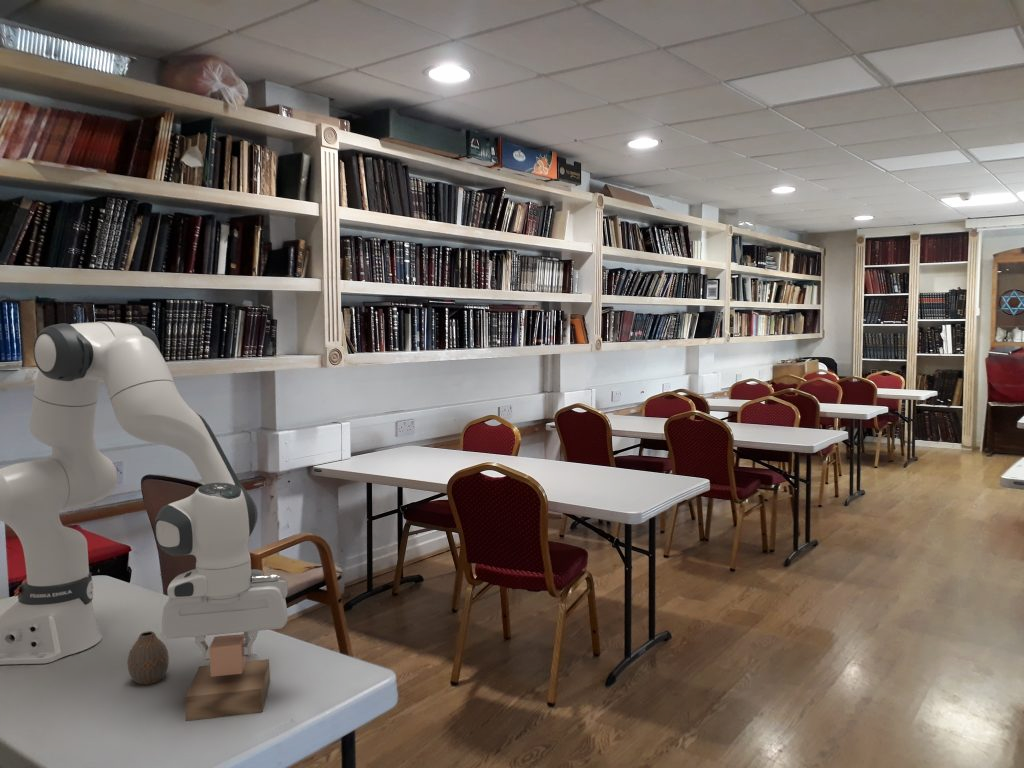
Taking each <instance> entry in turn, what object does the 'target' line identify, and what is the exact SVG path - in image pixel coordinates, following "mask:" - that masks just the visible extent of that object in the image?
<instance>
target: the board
mask: <svg viewBox="0 0 1024 768" xmlns="http://www.w3.org/2000/svg"><path fill="white" fill-rule="evenodd" d="M198 666H199V665H198ZM270 668H271V667H270V659H269V658H267V659H266V658H265V659H259V660H257V661H247V662H245V665H244V668H243V671H242V674H233V675H223V676H214V677H211V671H210V664H208V665H200V666H199V667H198V668H197V671H196V673H195V675H194V677H193V679H192V681H191V684H190V685H189V688H188V689H187V692H186V694H185V696H184V703H185V719H186V720H185V721H187V722H188V721H195V720H205V719H212V718H213V719H214V718H220V717H229V716H239V715H246V714H247V715H248V714H256V713H262V712H264V708H263V707H265V704H266V698H267V695H268V690H269V687H270V686H269V685H270V682H271V675H270V674H271V673H270V671H271V669H270Z"/></svg>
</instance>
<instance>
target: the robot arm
mask: <svg viewBox="0 0 1024 768" xmlns="http://www.w3.org/2000/svg"><path fill="white" fill-rule="evenodd" d="M160 350H161V349H160V342H159V340H158V337H157V336H156V333H155V332H154V331H153V330H152V329H151V328H150V327H148V326H146V325H143V324H139V323H134V322H127V323H124V322H123V323H122V322H115V321H95V322H79V323H71V324H69V323H64V322H62V323H57V324H52V325H48V326H45V327H44V328H42V329H41V330H40V332H39V333H38V334H37V336H36V337H35V340H34V344H33V358H34V362H35V363H34V364H35V365H36V367H37V369H38V372H37V376H36V379H35V384H34V389H33V396H32V403H31V411H30V418H29V425H28V427H29V429H30V432H31V434H32V436H33V437H34V438H35V439H36V440H37V441H38V442H39V443H41V444H43V445H46V446H49V447H51V455H50V457H48V458H44V459H37V460H30V461H25V462H18V463H13V464H11V465H10V464H9V465H8V466H4V467H2V468H0V522H2V523H4V524H5V525H7V526H9V528H10V529H11V530H12V531H13V532H14V533H15V534H16V536H17V537H18V539H19V541H20V544H21V547H22V549H23V550H22V551H23V555H24V556H23V557H24V563H25V564H24V565H25V571H26V572H25V573H26V578H25V579H24V580H22V582H21V584H20V585H18V586H17V588H16V589H15V590H14V591H13V593H14V595H13V596H14V597H17V599H18V601H16V602H15V603H14V604H12V606H11V607H9V608H8V609H7V610H6V611H4V612H3V613H2V614H1V615H0V665H1V666H2V665H29V664H30V665H33V664H35V665H36V664H37V665H38V664H49V663H52V662H55V661H56V660H57V661H58V660H60V659H62V658H64V657H67V656H70V655H73V654H77V653H81V652H83V651H85V650H87V649H90V648H92V647H93V646H95V645H96V644H99V642H100V641H101V640H102V639H103V635H102V633H101V631H100V627H99V626H98V623H97V618H96V616H95V615H96V614H95V610H94V605H93V600H94V599H93V598H94V583H93V577H92V572H90V566H89V553H88V552H89V550H88V549H89V547H88V540H87V538H86V536H85V535H84V534H83V533H82V532H81V531H79V530H78V529H74V528H72V527H68V526H65V525H63V523H62V521H61V518H60V512H61V511H66V510H69V509H74V508H80V507H83V506H88V505H91V504H94V503H96V502H98V501H101V500H103V499H105V498H107V497H109V496H110V495H112V493H114V490H115V488H116V486H117V484H118V483H117V482H118V473H117V469H116V467H115V464H114V463H113V462H112V460H111V459H110V458H109V457H108V456H106V455H105V454H103V453H102V452H101V451H100V450H99V448H98V446H97V444H96V441H95V436H94V435H95V434H94V430H95V428H94V427H95V418H96V410H97V403H98V397H99V396H98V394H99V388H100V382H101V381H104V384H105V387H106V389H107V393H108V396H109V399H110V403H111V406H112V410H113V413H114V416H115V417H116V420H117V422H118V423H119V425H120V426H121V428H122V429H123V430H124V431H125V432H126V433H128V435H130V436H132V437H134V438H136V439H139V440H140V441H144V442H147V443H154V444H159V445H162V446H167V447H171V448H173V449H175V450H178V451H180V452H182V453H184V454H186V456H188V457H189V458H190V460H191V461H192V463H193V464H194V466H195V468H196V470H197V471H198V475H199V476H200V478H201V479H202V482H203V483H204V484H202V485H200V486H198V487H197V489H195V491H194V492H193V493H192V494H191V495H189V496H187V497H185V498H182V499H180V500H176V501H173V502H170V503H168V504H166V505H163V506H162V507H161V508H160V509H159V511H158V513H157V514H156V517H155V519H154V520H155V521H154V523H153V534H154V540H155V542H156V544H157V546H158V547H159V548H160V550H162V551H163V552H164V553H166V554H168V555H170V556H172V557H184V556H189V555H192V556H194V557H195V559H196V561H195V568H194V569H190V570H188V571H185V572H183V573H180V574H178V575H176V576H175V577H174V578H173V579H172V580H171V582H170V583H169V584H168V587H167V597H168V599H167V601H166V602H165V603H164V606H163V608H162V616H161V617H162V618H161V631H162V632H161V633H162V634H161V635H163V636H164V637H165V639H167V640H172V639H173V640H175V639H182V638H185V639H186V638H194V643H195V644H196V647H198V648H199V650H200V651H201V652H202V660H203V661H210V651H209V648H210V646H209V645H208V644H207V642H206V641H205V639H206V636H215V635H216V636H217V635H227V634H228V635H229V634H237V633H244V632H248V637H250V640H249V642H248V643H244V644H243V646H242V651H243V653H242V655H243V656H252V653H253V645H254V643H255V641H256V639H257V637H258V634H259V631H269V630H277V629H278V630H280V629H283V627H285V625H286V624H287V622H288V608H287V601H286V597H287V596H288V594H289V589H288V588H289V587H288V586H289V585H288V581H287V580H286V579H285V578H284V577H283V576H279V574H274V573H273V574H270V575H263V576H262V575H261V576H251V570H252V564H251V563H252V561H251V554H250V552H249V547H248V544H249V543H248V541H249V538H250V536H251V535H252V534H253V532H254V530H255V528H256V525H257V521H258V508H257V505H256V503H255V501H254V499H253V498H252V497H251V495H250V493H248V491H247V490H246V489H245V487H244V486H243V484H242V483H241V482H240V480H239V478H238V476H237V475H236V472H235V471H234V469H233V467H232V465H231V463H230V461H229V460H228V458H227V455H226V454H225V452H224V451H223V448H222V446H221V444H220V443H219V440H218V439H217V437H216V435H215V433H214V432H213V430H212V428H211V427H210V425H209V424H208V422H207V420H206V419H205V418H204V417H203V416H202V415H201V414H198V413H197V412H195V411H194V410H193V409H192V408H191V407H190V406H189V405H188V404H187V402H186V401H185V400H184V399H183V398H182V396H181V393H180V392H179V391H178V388H177V386H176V384H175V381H174V377H173V375H172V373H171V370H170V368H169V366H168V364H167V362H166V360H165V358H164V356H163V355H162V353H161V351H160Z"/></svg>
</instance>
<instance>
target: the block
mask: <svg viewBox="0 0 1024 768" xmlns="http://www.w3.org/2000/svg"><path fill="white" fill-rule="evenodd" d="M244 643H245V634H243V633H240V634H230V635H229V634H228V635H227V634H226V635H219V636H217V635H216V636H214V638H213V639H212V641H211V643H210V646H209V647H210V648H209V651H210V660H209V665H210V671H211V677H214V676H223V675H233V674H242V671H243V668H244V665H245V662H246V656H243V655H242V653H243V651H242V646H243V644H244Z"/></svg>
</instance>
